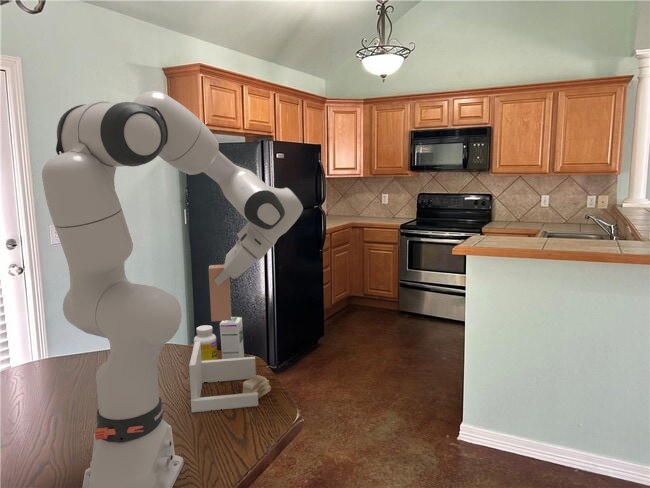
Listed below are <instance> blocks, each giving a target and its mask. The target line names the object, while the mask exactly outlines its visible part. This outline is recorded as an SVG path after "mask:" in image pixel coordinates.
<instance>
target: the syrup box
mask: <svg viewBox="0 0 650 488" xmlns="http://www.w3.org/2000/svg"><path fill="white" fill-rule="evenodd" d="M243 327H244V326H243V317H242V316H231V320H226V321H220V322H219V331H220V333H219V335H220V348H221V359H231V358H243V357H245V348H244V346H245V345H244V344H245V343H244V331H243Z"/></svg>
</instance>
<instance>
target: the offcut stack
mask: <svg viewBox="0 0 650 488" xmlns="http://www.w3.org/2000/svg"><path fill="white" fill-rule="evenodd" d="M271 389H272V388H271V385H270V380H269V379H267V377H265V376H261V375H259V374H256V376H254V377H253V378H251V379H246V380H245V381H243V382H242V392H241V394H243V393H254V392H258V400H259V399H260V398H261V397H263V396H265V395H266V394H268V393H269V392H271Z"/></svg>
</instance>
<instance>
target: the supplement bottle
mask: <svg viewBox="0 0 650 488" xmlns="http://www.w3.org/2000/svg"><path fill="white" fill-rule="evenodd" d="M213 331H214V329H213V326H212V325H207V324H206V325H205V324H204V325H200V326H198V327H196V335H195V336H194V337H193V345H194V344H195V342H199V341H200V342H201V359H202V361H206V360H218V345H217V343H218V342H217V341H218V340H217V336H216V334H214V333H213Z"/></svg>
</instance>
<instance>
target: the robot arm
mask: <svg viewBox="0 0 650 488" xmlns="http://www.w3.org/2000/svg"><path fill="white" fill-rule="evenodd" d="M56 140H57V141H56V144H55V145H56V146H55V152H56V154H57V155H55V156H53V157H51V158H50V159H49V160H48V161H47V162H46V163H45V164H44V166H43V167H42V172H41V176H42V183H43V184H42V185H43V190H44V191H43V192H44V195H45V200H46V205H47V208H48V211H49V215H50V218H51V220H52V223H53V226H54V228H55V231H56V234H57V237H58V239H59V243H60V245H61V247H62V250H63V254H64V256H65V259H66V262H67V266H68V272H69V289H68V291H67V292H66V294H65V296H64V299H63V304H62V312H63V315H64V318H65V319H66V321H67V322H68V323H69V324H71V325H72V326H74V327H75V328H77V329H79V330H80V331H82V332H84V333H85V334H88V335H93V336H96V337H101V338H104V339H107V340H108V341H109V346H110V348H109V353H108V359H107V360H106V361H105V362H103V363H102V364H101V365H100V366H99V367H98V368H97V371H96V373H95V385H96V395H97V406H98V408H97V411H96V419H95V427H96V428H95V431H94V433H93V447H92V456H91V461H89V463H88V468H86V469H85V471H84V476H83V481H82V486H81V488H174V487H173V486H174V485H175V482H176V480H177V478H178V477H179V475H180V472H181V470H182V468H183V467H184V464H185V462H184V458H183V456H179V455H177V454H176V451H175V446H174V437H173V436H174V435H173V429H172V426H171V425H170V424H169V423H167V422H166V421H165V419H164V418H163V417H164V412H163V410H164V407H163V402H162V397H161V396H160V394H159V391H160V390H159V389H160V388H159V373H158V372H159V366H158V365H159V361H160V360H159V359H160V356H161V353H162V350H163V348H164V346H165V345H166V344H167V343H168V342H169V341H170V340H172V338H174V337H175V335H176V333H177V332H178V330H179V329H180V325H181V322H182V307H181V304H180V302H179V300H178V298H177V297H176V296H175V295H173V294H171V293H169V292H166V291H165V290H162V289H160V288H158V287H156V286H154V285H153V286H152V285H145V284H140V283H135V282H130V281H129V279H128V278H127V276H126V271H125V264H126V263H125V262H126V261H127V260H128V259H129V257H131V254H132V253H133V250H134V243H133V239H132V237H131V233H130V231H129V227H128V224H127V221H126V217H125V215H124V211H123V209H122V205H121V202H120V200H119V197H118V193H117V191H116V187H115V177H116V176H115V175H116V171H117V167H140V166H144V165H146V164H149V163H150V162H152V161H153V160H155V159H156V158H157V157H159V158H161V159H162V160H163V161H165V162H166V163H167V164H168V165H170V166H171V167H173V168H174V169H177V170H178V171H180V172H182V173H185V174H187V175H189V176H191V175H198V174H201V173H204V174H205V175H207V176H208V177H209V178H210V179H212V180H213V181H214V182H216V185H217V187H218V189H219V192H220V194H221V195H222V197H223V198H225V200H227V201H228V202H229V203H230V204H231V205H232V206H233V207H234V209H236V210H237V212H238V213H239V214H240V215H241V217H243V218H244V219H245V220H246V221H247V223H246V224H245V226H243V227H242V229H241V230H239V232H237V234H236V235H237V236H236V237H238V240H237V241H236V242H235V245H234V246H233V247H231V249H230V250H229V252H227V253H226V254H225V260H224V261H225V262H224V263H223V265H225V267H224V270H223V271H222V272H221V274H220V275H218V276H217V277H216V278H215V282H216V283H217V284H218V285H220V284H221V283H222V282H223V281H224V280H226V279H227V278H228V277H230V278H231V279H233V280H235V279H237V278H239V277H240V276H241V275H242V274H243V273H245V272H246V271H247V270H248V269H249V268H250V267H251V266H252V265H253V264H254V263H256V261H257V260H259V261H260V260H262V259H263V258H264V256H265V255H266V254H267V253H268V252H269V251H271V249H272V248H273V246H274V245H276V243H277V241H278V239H279V238H280V237H281V236H282V235H284V234H286V233H287V232H288V231H289V230H290V228H292V226H293V225H294V224H295V223H296V222H297V220H298V219H299V218H300V216H301V215H302V213H303V210H304V207H303V203H302V201H301V199H300V198H299V197H298V196H297V194H296V193H295V192H294V191H293V190H291V189H290V188H288V187H283V188H278V187H273V186H270V185H267V184H266V183H265V182H264V181H263V180H262V179H261V178H260V177H259V176H258V175H257V174H256V173H255V172H254V170H253V169H252V168H250V167H249V166H247V165H244V164H240V163H236V162H233V161H231V160H230V159H229V158H228V157H227V156H226V155H225V154H224V153H222V152H221V151H220V149H219V148H220V145H219V144H220V143H219V141H218V140H217V138H216V136H215V135H214V133H213V132H212V131H211V130H210V129H209V127H208V126H207V125H206V124H205V123H204V122H203V121H202V120H201V119H200V118H198V117H197V115H195V114H194V112H192V111H191V110H189V109H188V108H187V107H186V106H184V105H182V103H180V102H179V101H177V100H176V99H174V98H172V97H171V96H170V95H168V94H165V92H162V91H159V90H148V91H145V92H143V93H141V94H140V95H138V96H137V97H136V98H135V99H134V100H133V101H122V102H112V101H111V102H110V101H97V102H91V103H88V104H87V103H86V104H85V103H84V104H79V105H76V106H73V107H71V108H70V109H68V110H66V111H65V112H64V113H63V114H62V115H61V117H60V119H59V121H58V123H57V127H56Z"/></svg>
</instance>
